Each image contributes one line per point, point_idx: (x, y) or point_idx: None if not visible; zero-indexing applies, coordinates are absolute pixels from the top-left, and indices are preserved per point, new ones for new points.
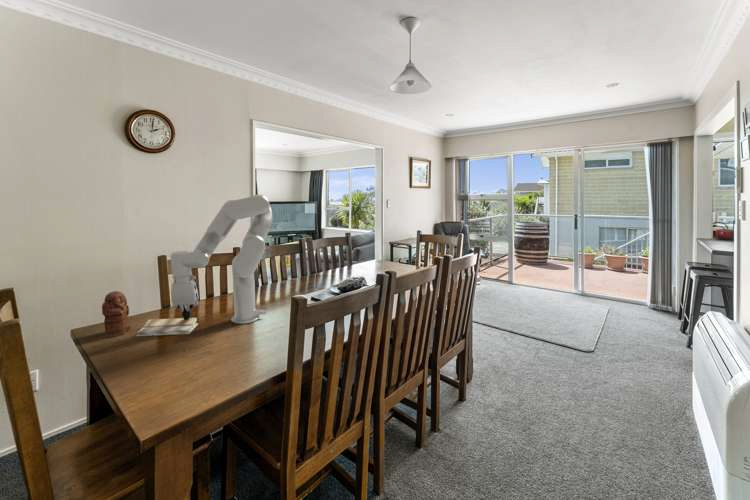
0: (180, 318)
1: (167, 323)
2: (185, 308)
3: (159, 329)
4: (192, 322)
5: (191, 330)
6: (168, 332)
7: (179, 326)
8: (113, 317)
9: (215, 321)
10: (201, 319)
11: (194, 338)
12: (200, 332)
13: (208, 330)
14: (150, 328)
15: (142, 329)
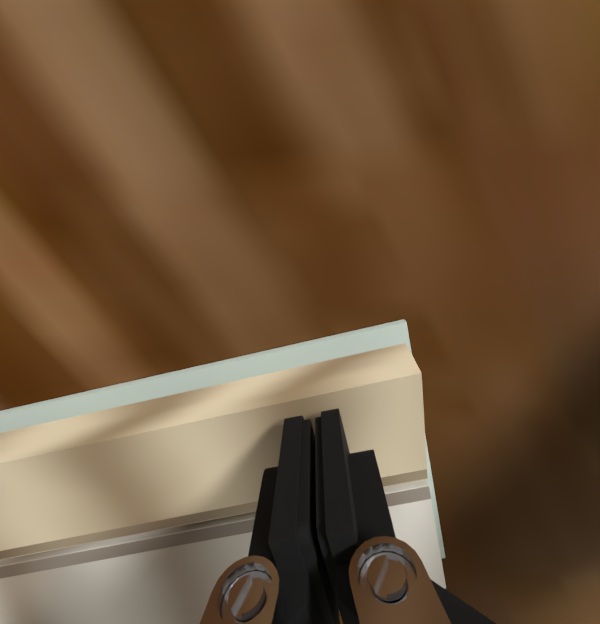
0: (202, 423)
1: (128, 508)
2: (298, 621)
3: (161, 603)
4: (409, 453)
5: (435, 507)
6: None
7: None
8: None
9: (592, 202)
10: (360, 144)
11: (529, 616)
12: (531, 516)
13: (593, 470)
14: (53, 591)
15: (2, 614)
